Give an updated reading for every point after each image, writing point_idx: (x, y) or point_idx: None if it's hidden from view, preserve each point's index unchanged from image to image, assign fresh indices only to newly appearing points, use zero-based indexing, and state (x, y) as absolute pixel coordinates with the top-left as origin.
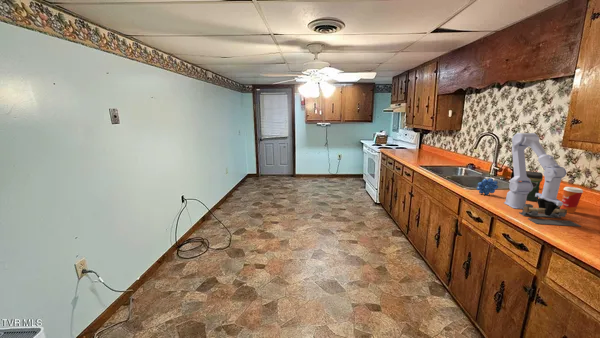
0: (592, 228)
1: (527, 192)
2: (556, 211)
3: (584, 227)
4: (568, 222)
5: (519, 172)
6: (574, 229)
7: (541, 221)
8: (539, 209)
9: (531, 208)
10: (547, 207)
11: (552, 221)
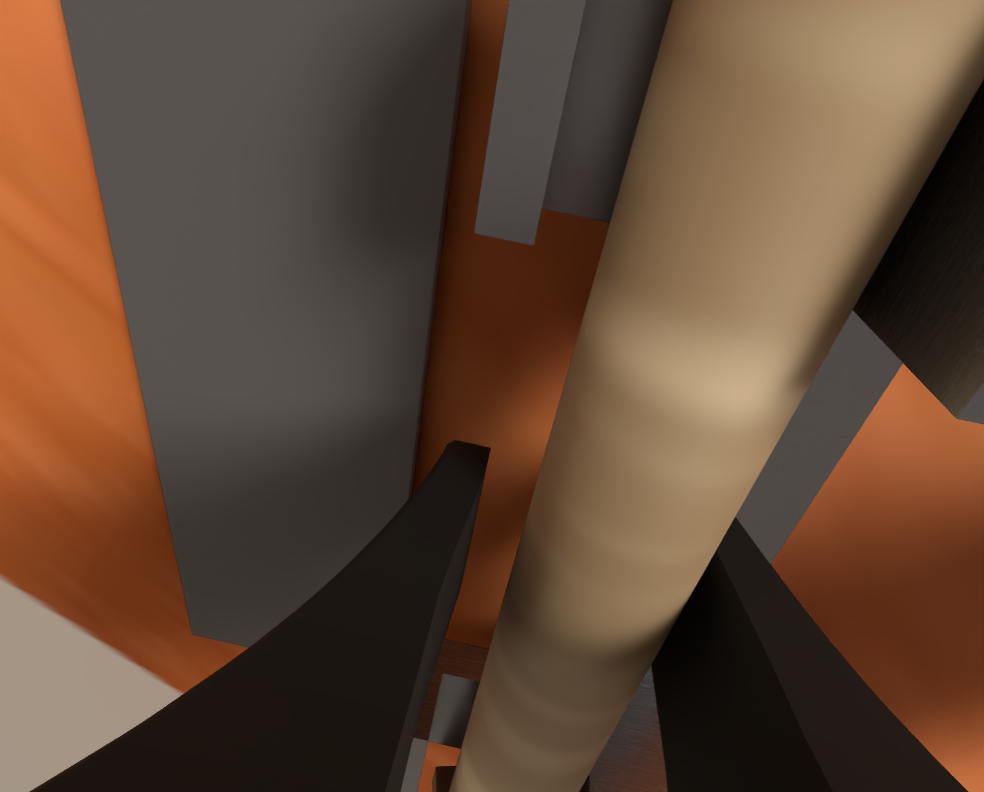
0: (174, 678)
1: None
2: (465, 742)
3: (181, 632)
4: (303, 600)
5: None
6: (18, 436)
7: (237, 38)
8: (592, 430)
9: (783, 17)
10: (271, 652)
11: (301, 377)
